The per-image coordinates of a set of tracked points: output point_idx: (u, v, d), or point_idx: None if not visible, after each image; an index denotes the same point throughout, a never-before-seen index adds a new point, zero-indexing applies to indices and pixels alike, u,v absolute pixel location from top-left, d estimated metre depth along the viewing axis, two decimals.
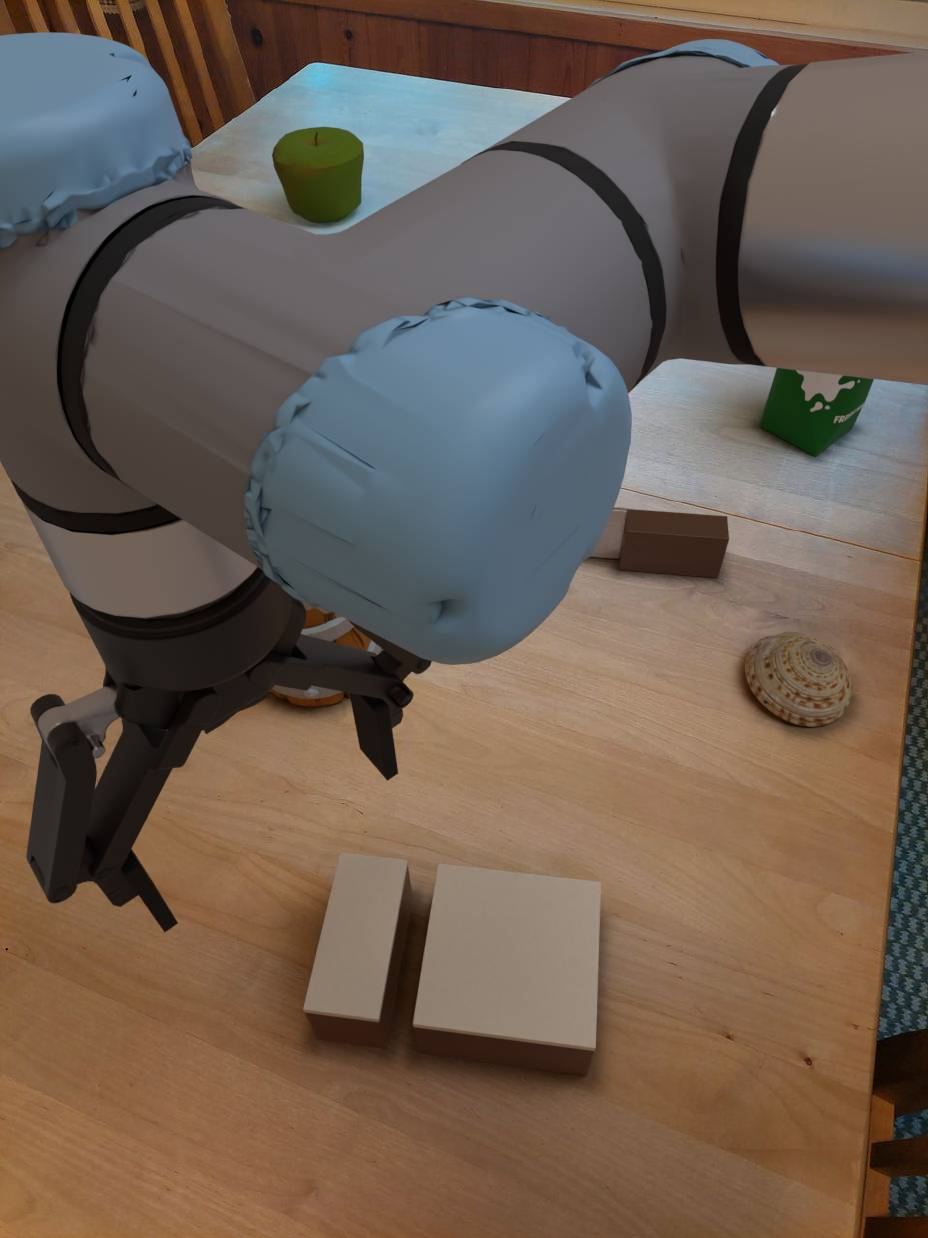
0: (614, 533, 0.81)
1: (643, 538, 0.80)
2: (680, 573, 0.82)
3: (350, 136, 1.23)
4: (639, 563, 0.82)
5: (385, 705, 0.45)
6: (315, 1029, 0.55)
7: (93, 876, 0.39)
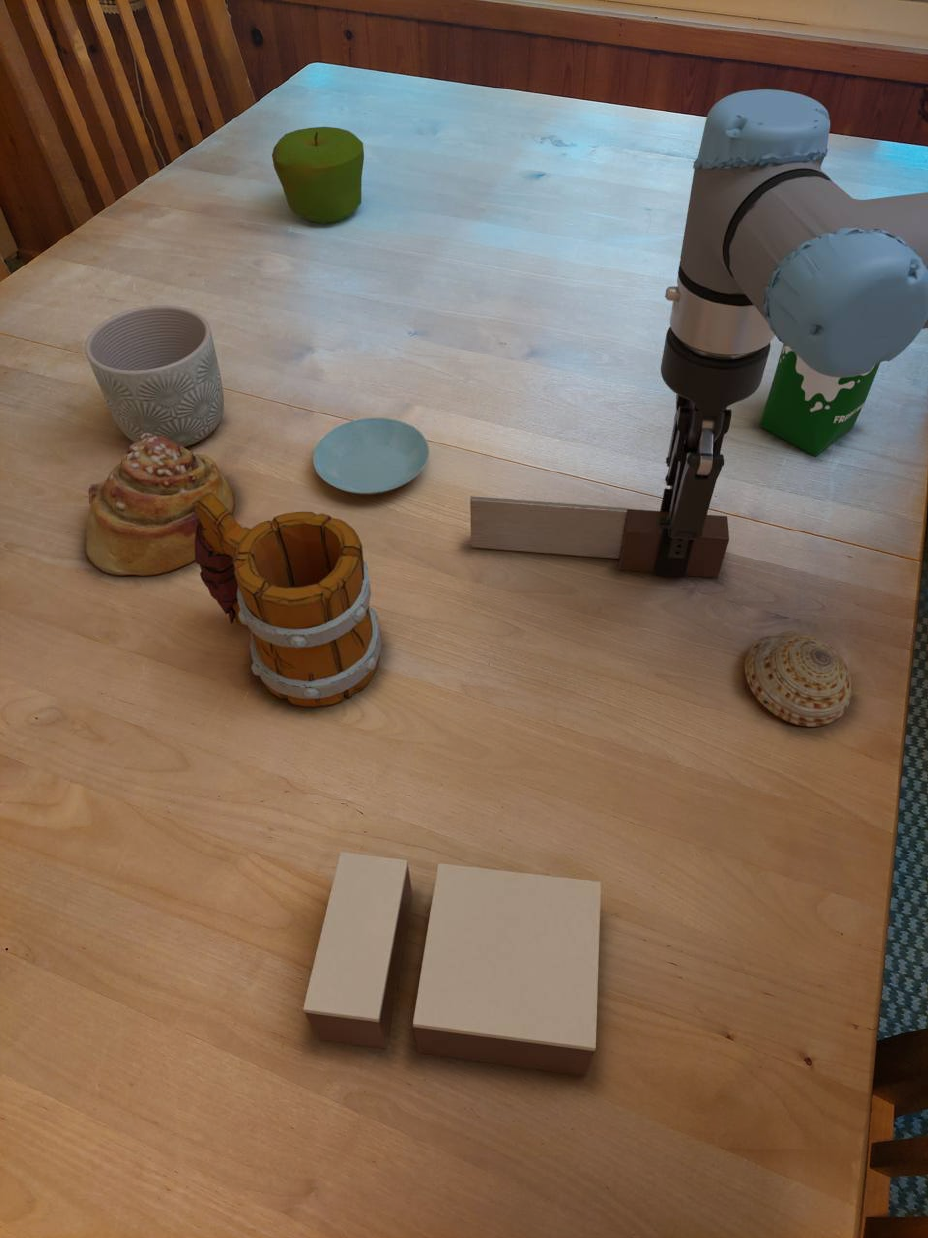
0: (614, 533, 0.81)
1: (643, 538, 0.80)
2: None
3: (350, 137, 1.23)
4: (639, 563, 0.82)
5: None
6: (315, 1029, 0.55)
7: None
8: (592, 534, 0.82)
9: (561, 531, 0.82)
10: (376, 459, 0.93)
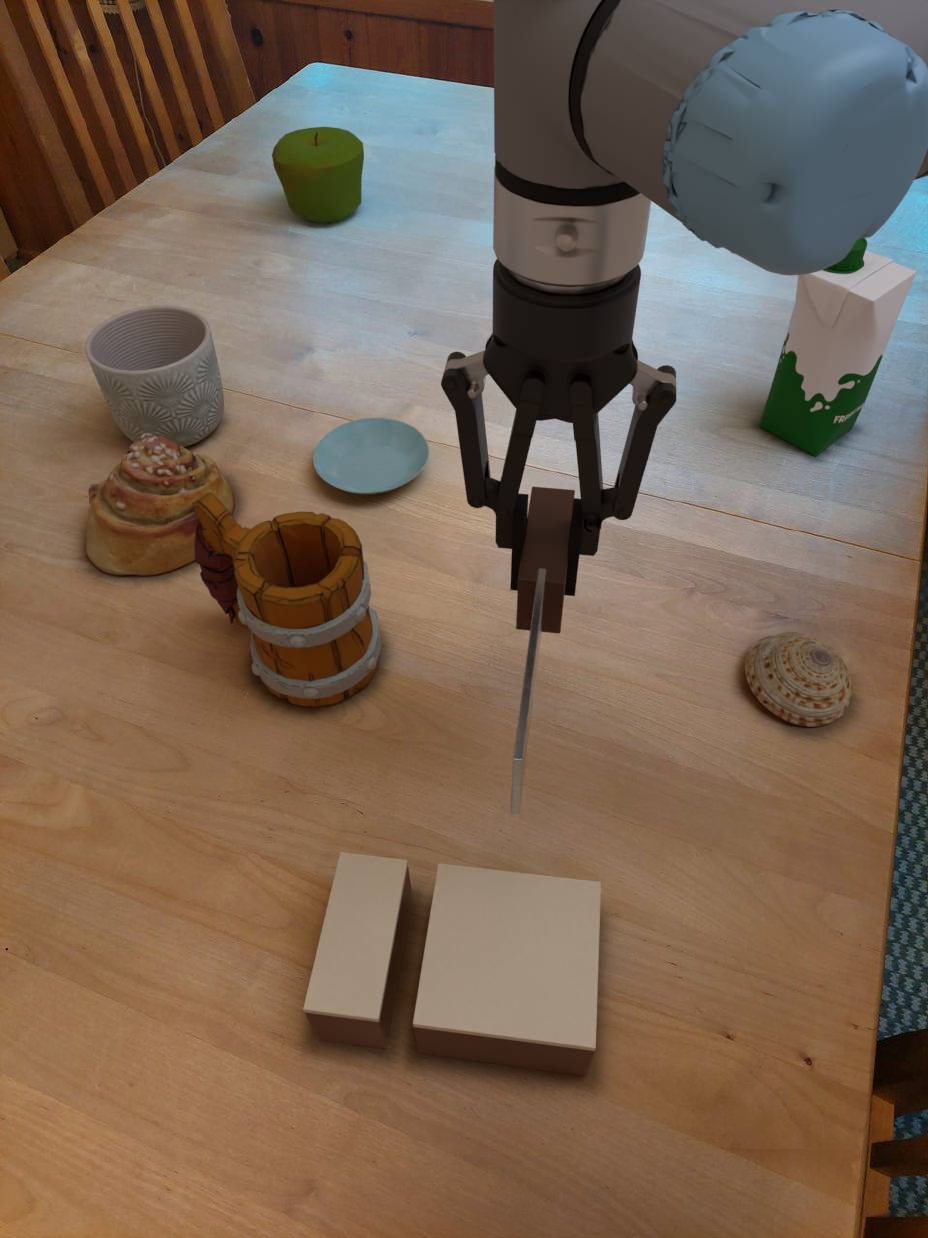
0: None
1: None
2: None
3: (350, 136, 1.23)
4: None
5: (518, 495, 0.59)
6: (315, 1029, 0.55)
7: None
8: None
9: (535, 669, 0.55)
10: (376, 459, 0.93)
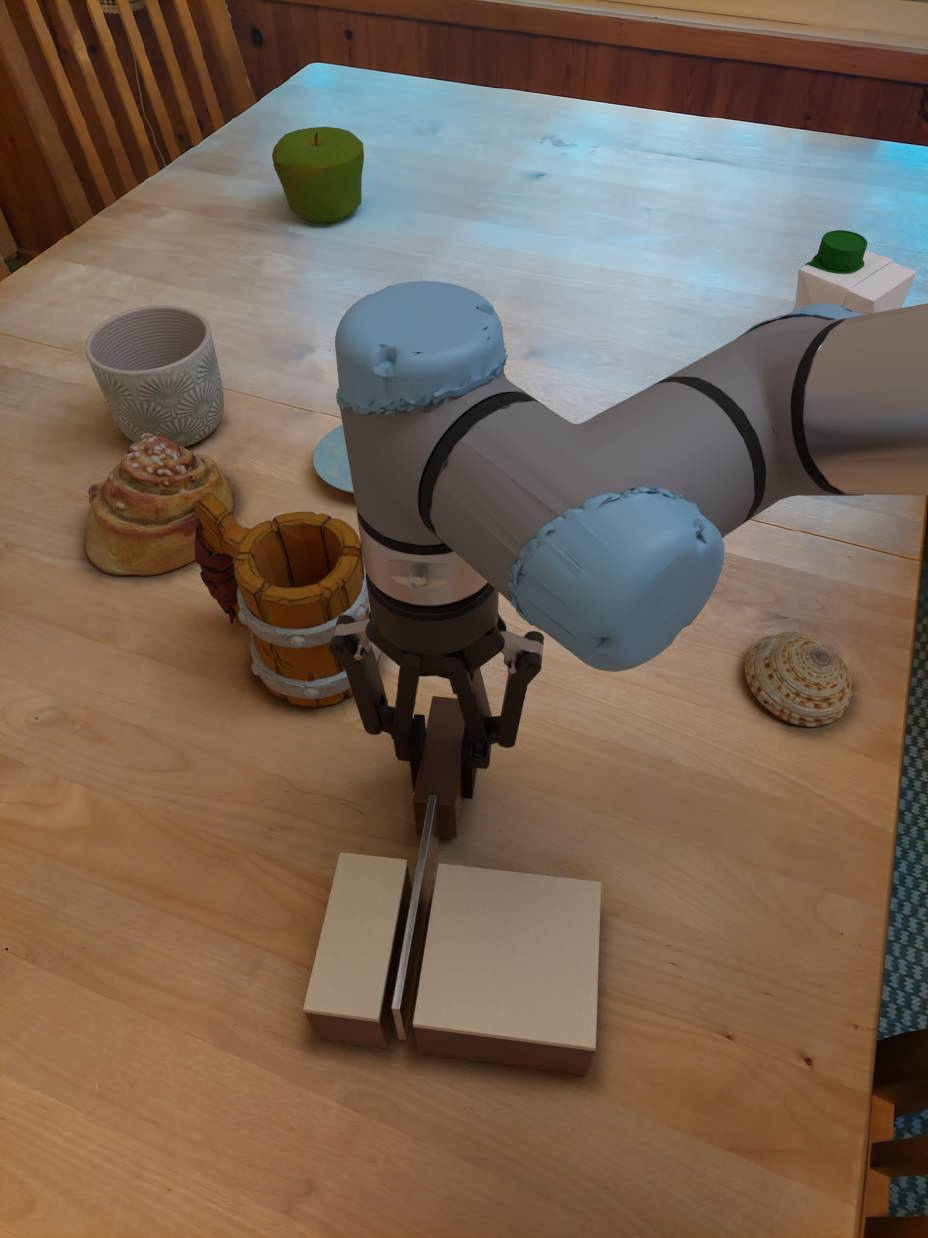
0: (436, 826, 0.62)
1: (458, 790, 0.63)
2: None
3: (350, 136, 1.23)
4: (460, 811, 0.65)
5: (415, 715, 0.64)
6: (315, 1029, 0.55)
7: None
8: (432, 854, 0.61)
9: (425, 893, 0.59)
10: None
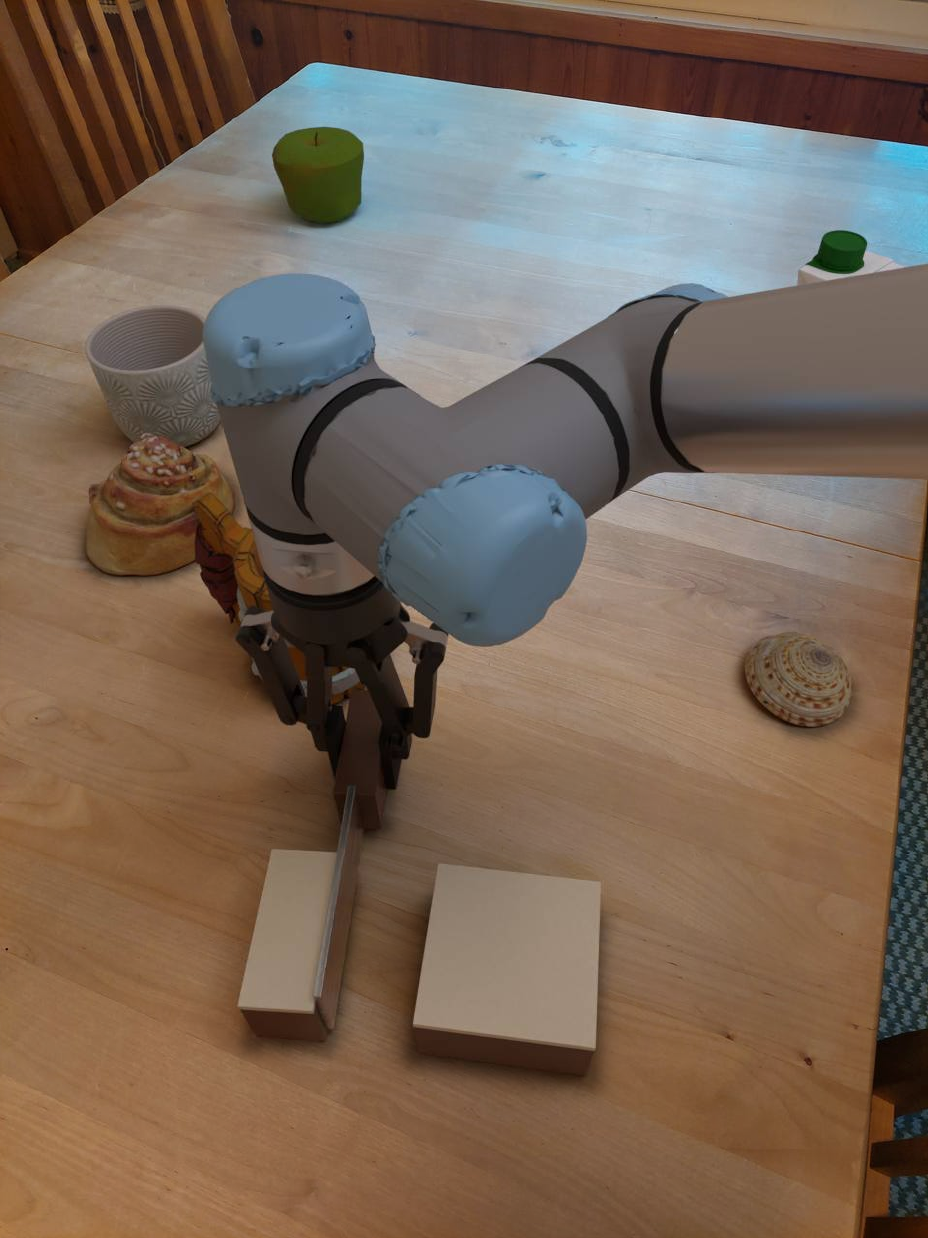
0: (358, 816, 0.63)
1: (379, 780, 0.64)
2: None
3: (350, 136, 1.23)
4: (383, 801, 0.66)
5: (333, 706, 0.65)
6: (253, 1026, 0.55)
7: None
8: (354, 844, 0.62)
9: (348, 883, 0.60)
10: None
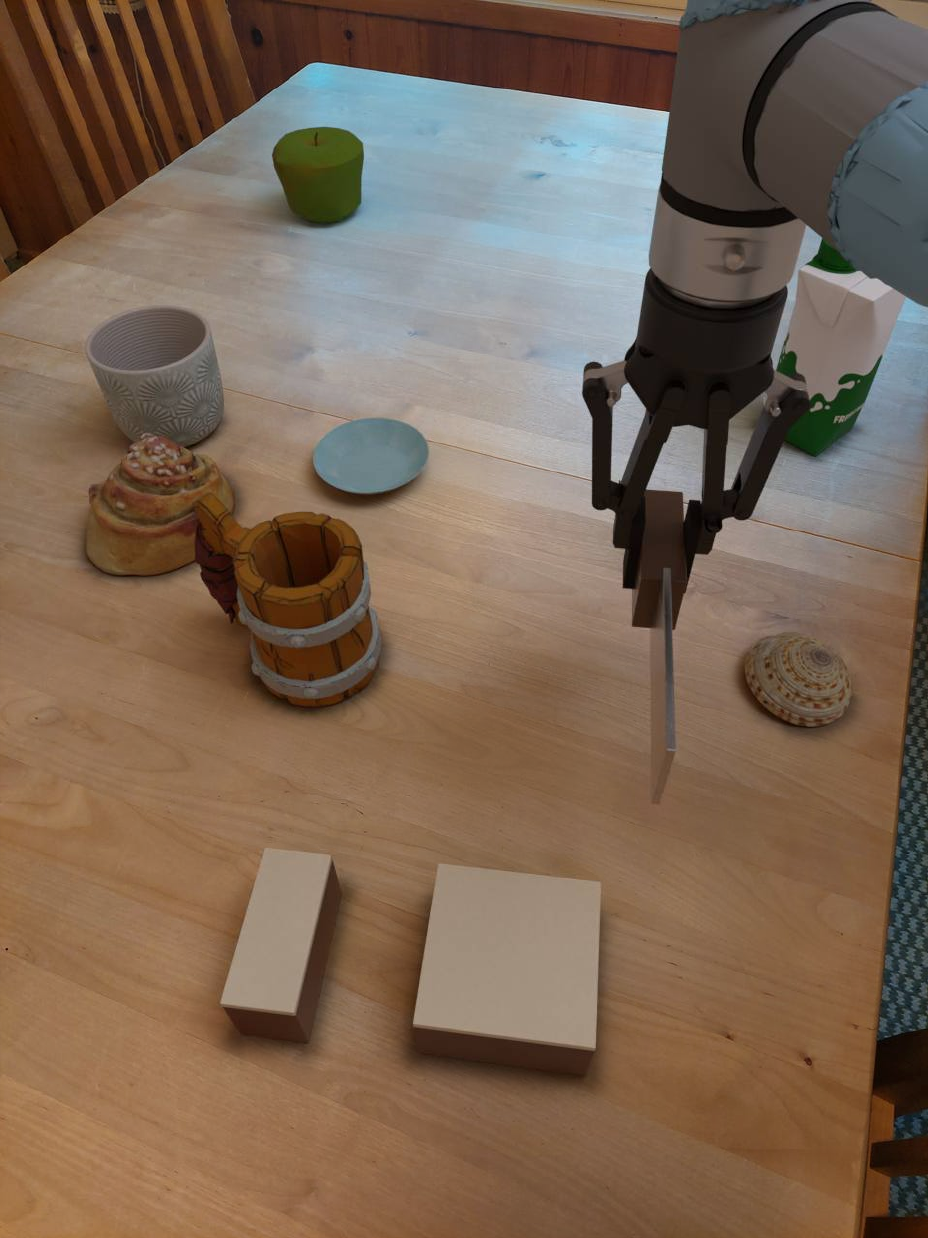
0: None
1: None
2: None
3: (350, 136, 1.23)
4: None
5: None
6: (236, 1023, 0.55)
7: None
8: None
9: None
10: (376, 459, 0.93)
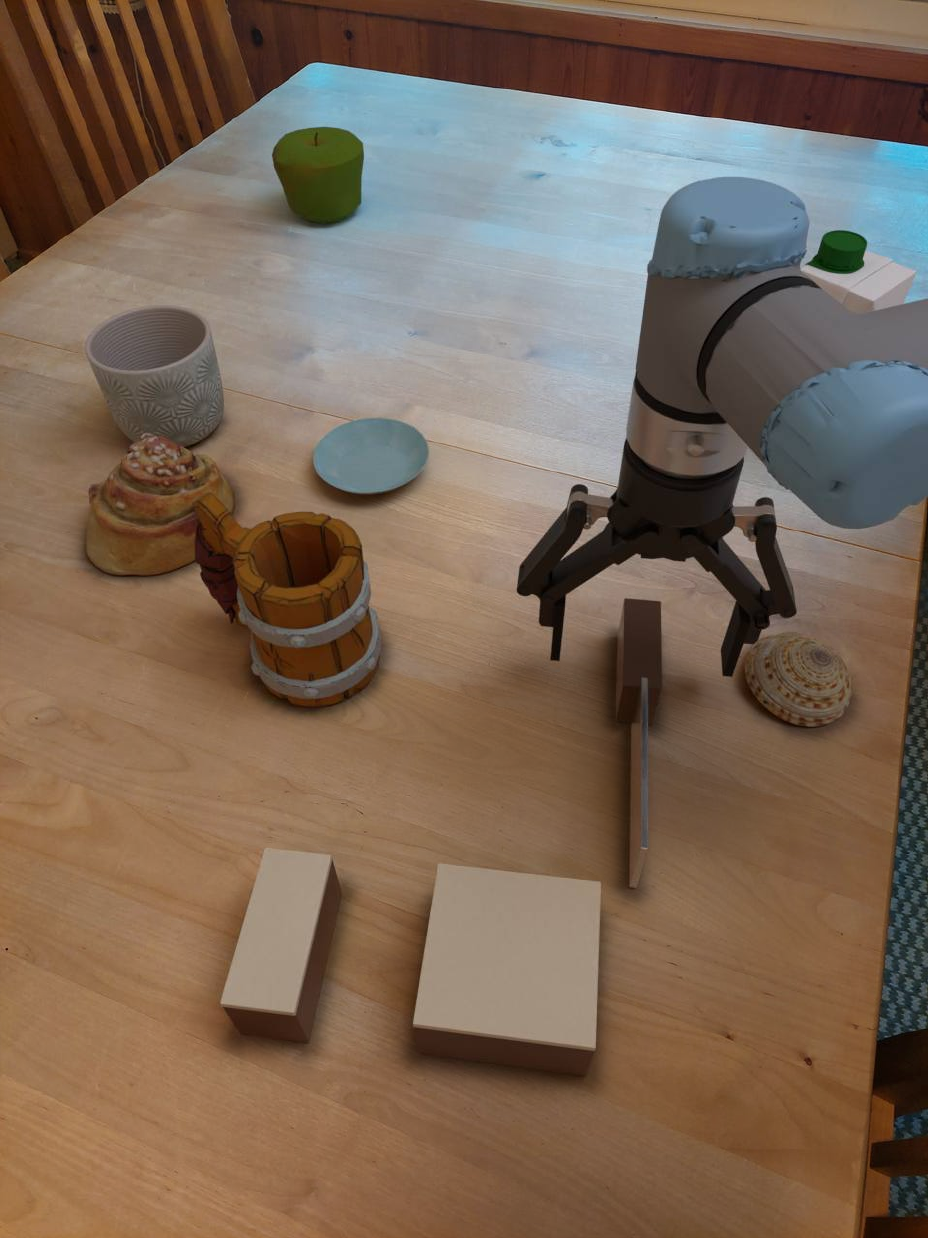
0: None
1: None
2: None
3: (350, 136, 1.23)
4: None
5: None
6: (236, 1023, 0.55)
7: (765, 590, 0.67)
8: None
9: None
10: (376, 459, 0.93)
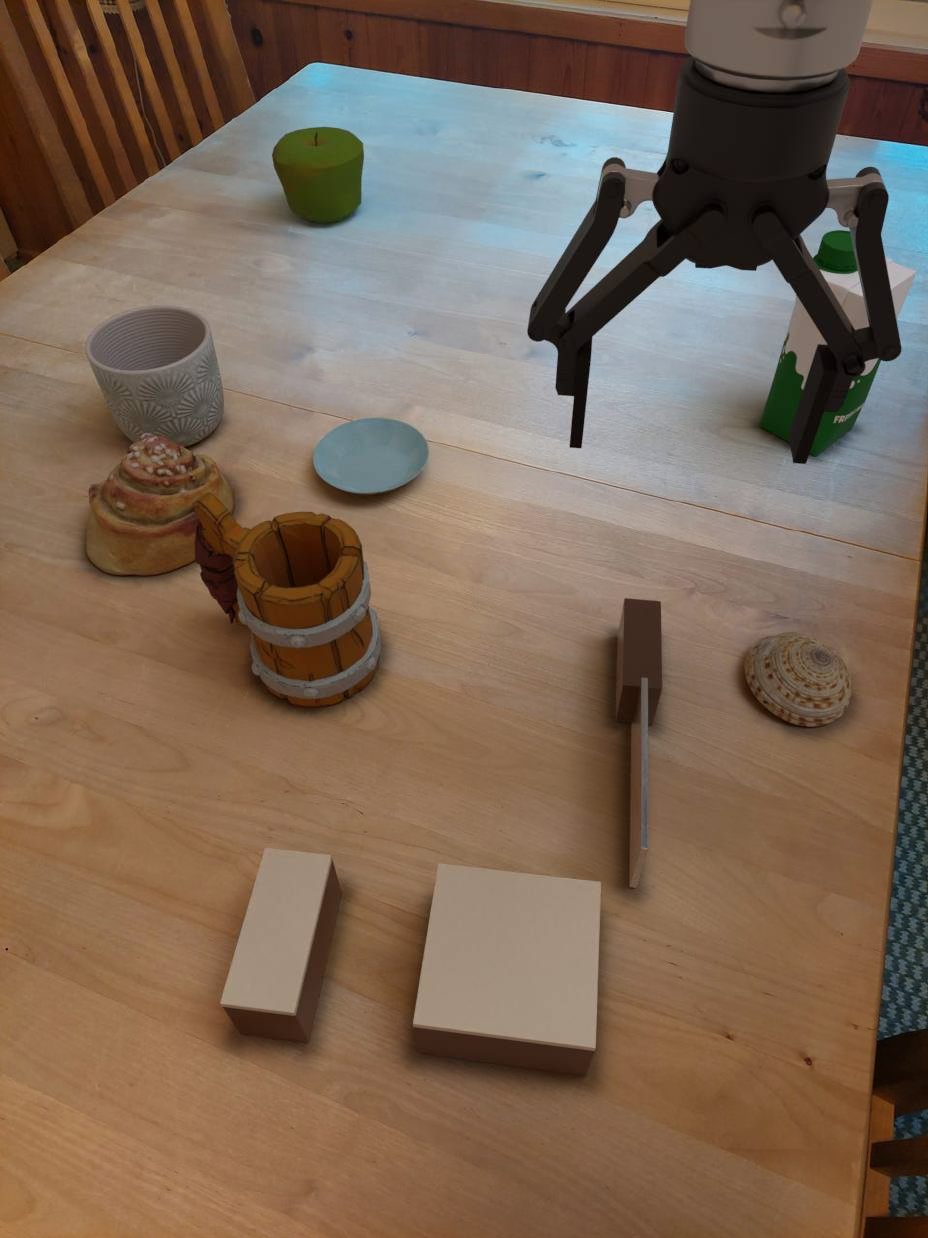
0: None
1: None
2: None
3: (350, 136, 1.23)
4: None
5: None
6: (236, 1023, 0.55)
7: None
8: None
9: None
10: (376, 459, 0.93)
